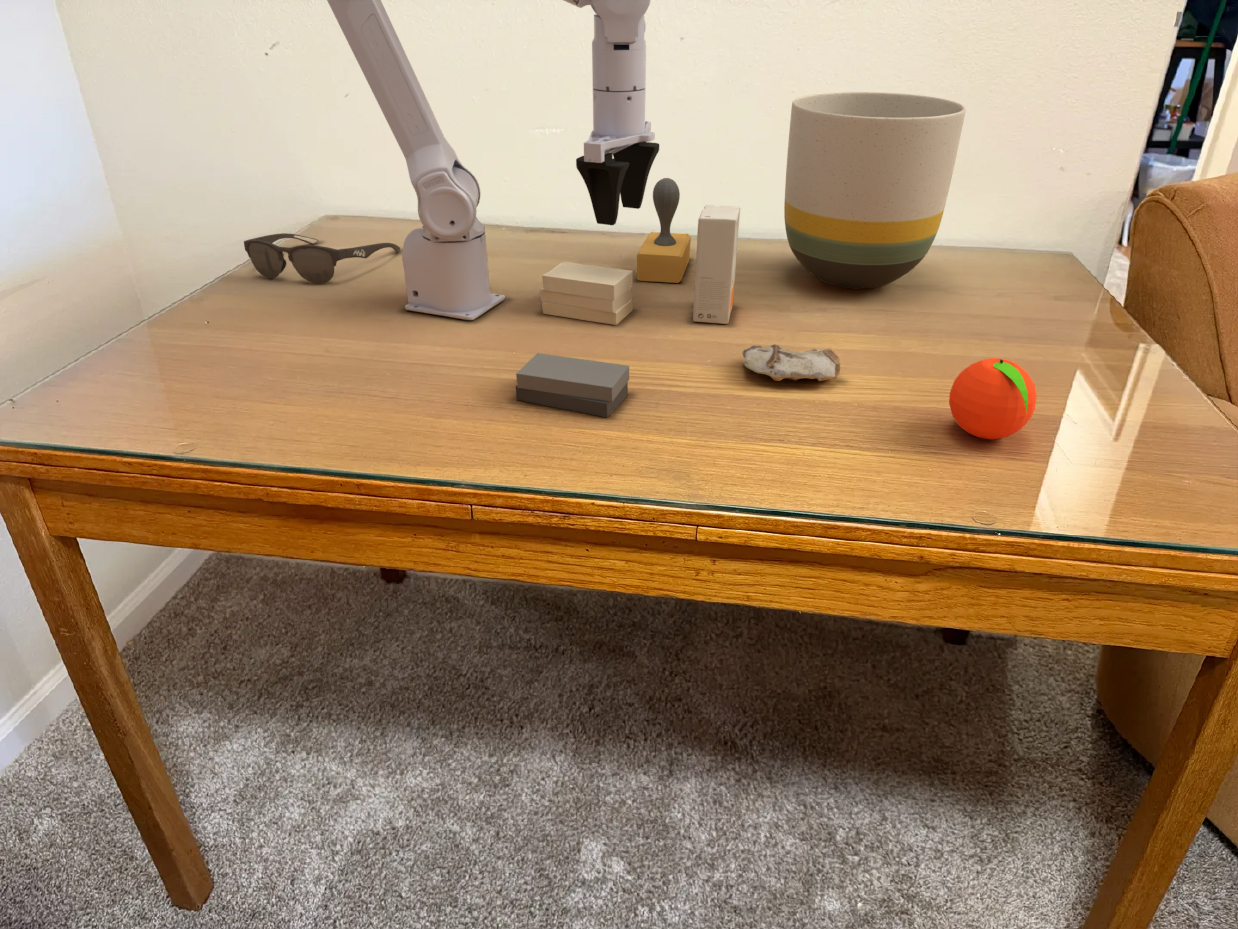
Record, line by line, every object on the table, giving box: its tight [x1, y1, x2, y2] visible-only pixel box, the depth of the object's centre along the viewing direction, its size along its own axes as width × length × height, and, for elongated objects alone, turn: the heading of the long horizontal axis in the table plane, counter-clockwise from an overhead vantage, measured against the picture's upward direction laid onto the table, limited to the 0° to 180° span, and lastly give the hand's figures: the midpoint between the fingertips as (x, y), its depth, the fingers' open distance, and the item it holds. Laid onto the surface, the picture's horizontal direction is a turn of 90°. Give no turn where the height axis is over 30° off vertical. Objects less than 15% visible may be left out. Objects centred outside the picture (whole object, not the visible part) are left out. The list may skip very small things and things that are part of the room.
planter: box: [783, 91, 967, 290], centre depth 104 cm, size 20×20×21 cm
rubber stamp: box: [636, 177, 692, 284], centre depth 110 cm, size 10×6×12 cm, turn 169°
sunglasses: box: [243, 232, 401, 284], centre depth 115 cm, size 16×17×5 cm
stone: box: [741, 343, 841, 382], centre depth 85 cm, size 10×7×3 cm
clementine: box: [948, 357, 1038, 440], centre depth 72 cm, size 8×7×7 cm
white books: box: [539, 286, 634, 326], centre depth 100 cm, size 10×6×3 cm, turn 67°
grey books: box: [515, 352, 630, 418], centre depth 80 cm, size 10×6×3 cm, turn 67°
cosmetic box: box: [692, 204, 741, 325], centre depth 97 cm, size 6×4×12 cm
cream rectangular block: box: [542, 261, 633, 301], centre depth 98 cm, size 9×6×2 cm, turn 67°
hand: (619, 215), depth 98 cm, fingers open, 7 cm apart
